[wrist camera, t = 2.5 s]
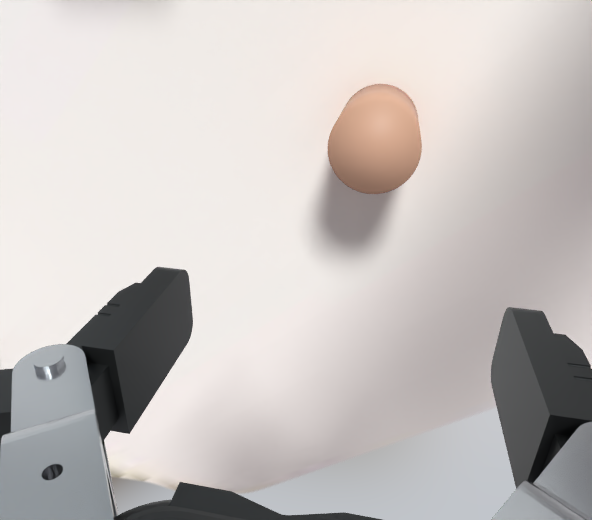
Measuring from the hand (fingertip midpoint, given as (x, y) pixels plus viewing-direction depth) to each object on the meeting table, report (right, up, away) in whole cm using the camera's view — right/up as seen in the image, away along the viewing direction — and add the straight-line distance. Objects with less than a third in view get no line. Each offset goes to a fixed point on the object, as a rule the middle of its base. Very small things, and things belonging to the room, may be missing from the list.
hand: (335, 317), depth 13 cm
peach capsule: (+5, +11, +21) cm, 24 cm away
